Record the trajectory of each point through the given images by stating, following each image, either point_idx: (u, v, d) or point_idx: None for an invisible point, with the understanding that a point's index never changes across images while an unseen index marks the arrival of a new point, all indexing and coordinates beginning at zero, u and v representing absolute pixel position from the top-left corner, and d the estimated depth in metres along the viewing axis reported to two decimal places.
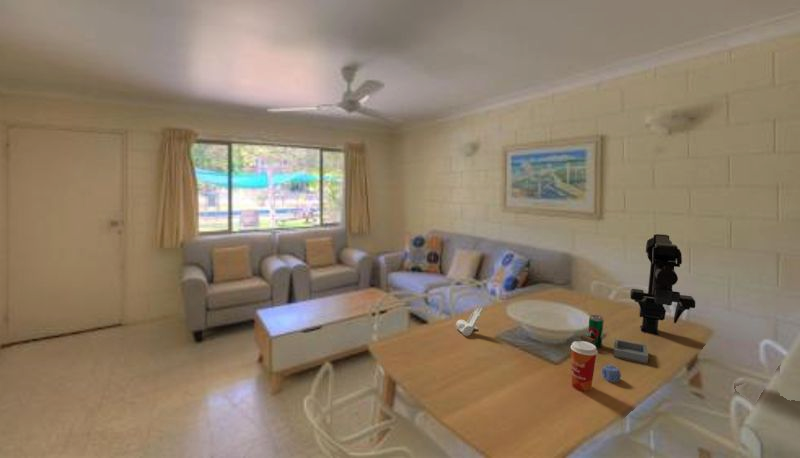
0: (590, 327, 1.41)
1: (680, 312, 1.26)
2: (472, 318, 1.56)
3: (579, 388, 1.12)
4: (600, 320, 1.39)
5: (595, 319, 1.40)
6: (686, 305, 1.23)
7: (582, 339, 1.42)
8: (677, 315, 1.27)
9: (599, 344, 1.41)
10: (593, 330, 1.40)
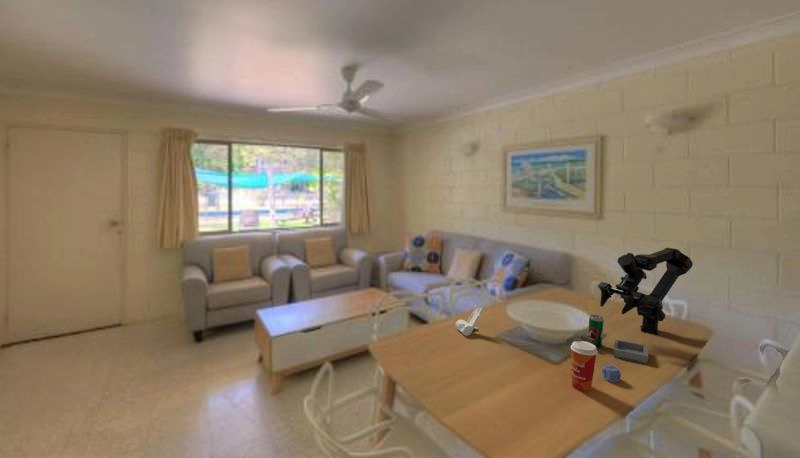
0: (590, 327, 1.41)
1: None
2: (472, 318, 1.56)
3: (579, 388, 1.12)
4: (600, 320, 1.39)
5: (595, 319, 1.40)
6: None
7: (582, 339, 1.42)
8: None
9: (599, 344, 1.41)
10: (593, 330, 1.40)
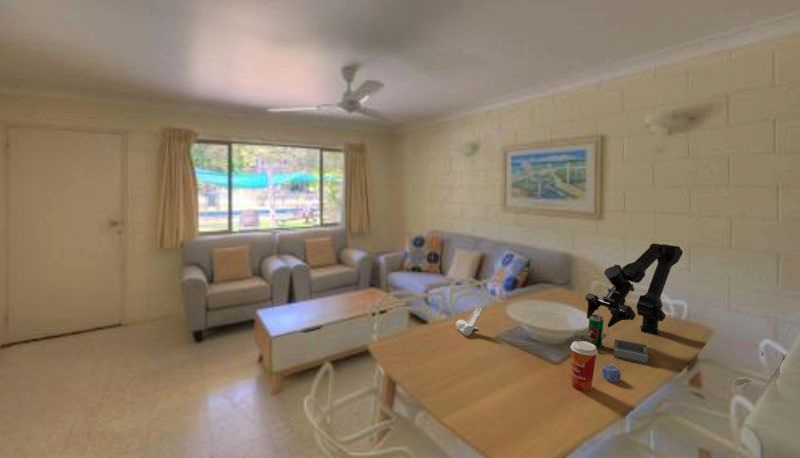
0: (590, 327, 1.41)
1: None
2: (472, 318, 1.56)
3: (579, 388, 1.12)
4: (600, 320, 1.39)
5: (595, 319, 1.40)
6: None
7: (582, 339, 1.42)
8: None
9: (599, 344, 1.41)
10: (593, 330, 1.40)
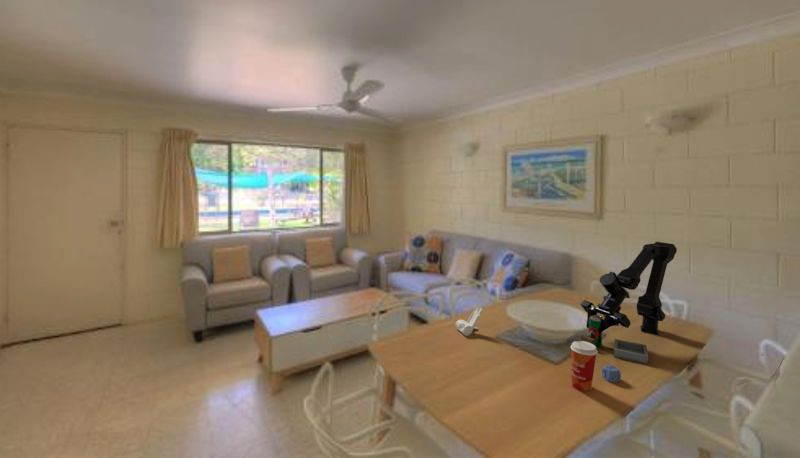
0: (590, 327, 1.41)
1: None
2: (472, 318, 1.56)
3: (579, 388, 1.12)
4: (600, 320, 1.39)
5: (595, 319, 1.40)
6: None
7: (582, 339, 1.42)
8: None
9: (599, 344, 1.41)
10: (593, 330, 1.40)
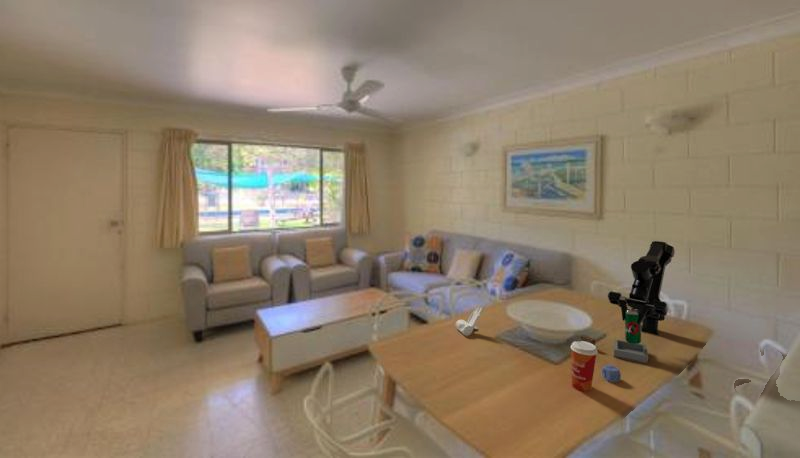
0: (629, 322, 1.32)
1: None
2: (472, 318, 1.56)
3: (579, 388, 1.12)
4: (638, 313, 1.31)
5: (634, 313, 1.31)
6: None
7: (582, 339, 1.42)
8: None
9: (640, 339, 1.32)
10: (633, 325, 1.31)
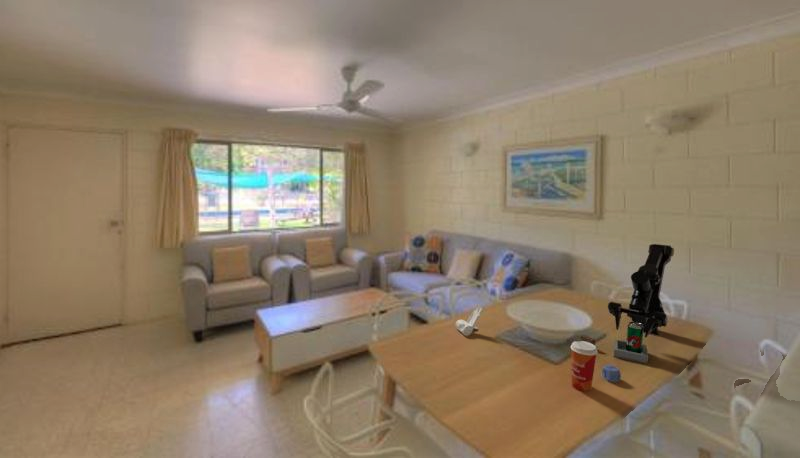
0: (631, 335, 1.32)
1: None
2: (472, 318, 1.56)
3: (579, 388, 1.12)
4: (642, 327, 1.31)
5: (637, 327, 1.31)
6: None
7: (582, 339, 1.42)
8: None
9: (640, 353, 1.32)
10: (635, 339, 1.31)
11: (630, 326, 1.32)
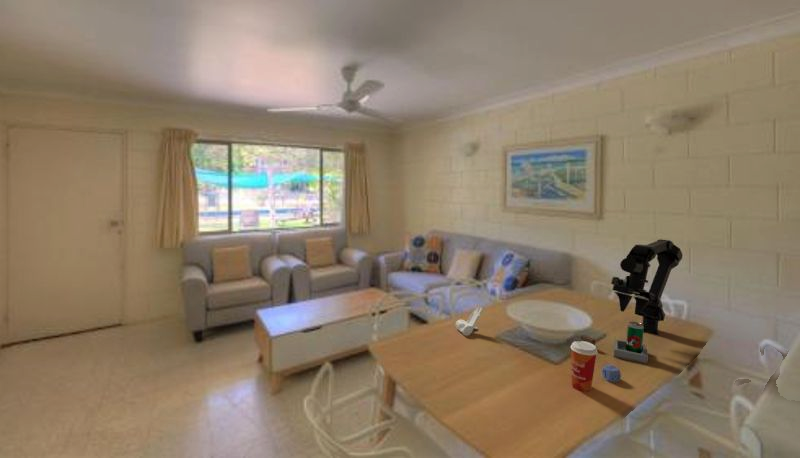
0: (631, 335, 1.32)
1: None
2: (472, 318, 1.56)
3: (579, 388, 1.12)
4: (642, 327, 1.31)
5: (637, 327, 1.31)
6: None
7: (582, 339, 1.42)
8: None
9: (640, 353, 1.32)
10: (635, 339, 1.31)
11: (630, 326, 1.32)
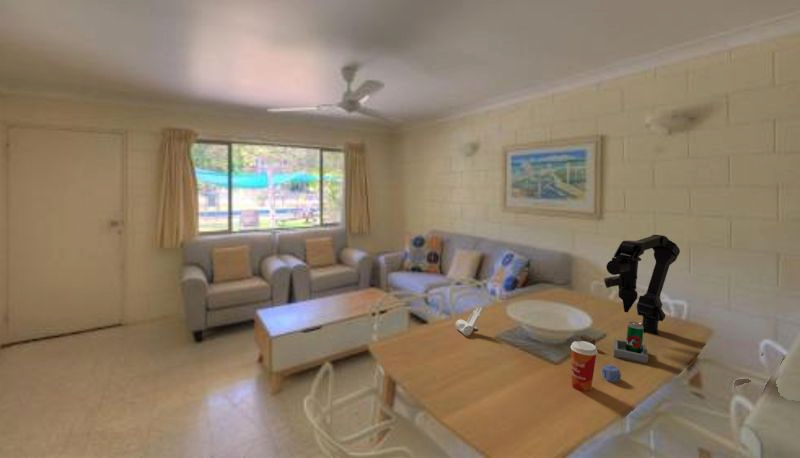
0: (631, 335, 1.32)
1: None
2: (472, 318, 1.56)
3: (579, 388, 1.12)
4: (642, 327, 1.31)
5: (637, 327, 1.31)
6: None
7: (582, 339, 1.42)
8: None
9: (640, 353, 1.32)
10: (635, 339, 1.31)
11: (630, 326, 1.32)
